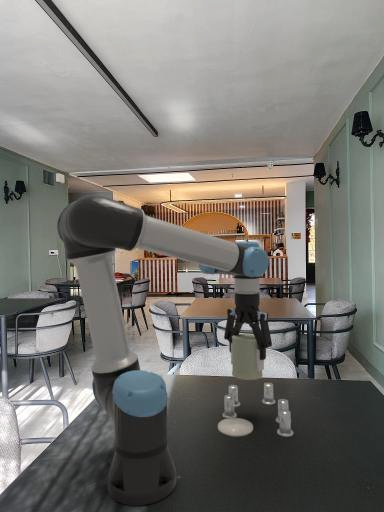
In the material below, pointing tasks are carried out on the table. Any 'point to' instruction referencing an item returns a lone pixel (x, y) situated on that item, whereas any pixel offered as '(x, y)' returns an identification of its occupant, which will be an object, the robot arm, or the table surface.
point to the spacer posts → (283, 411)
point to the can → (244, 357)
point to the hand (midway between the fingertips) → (247, 366)
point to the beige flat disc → (235, 427)
